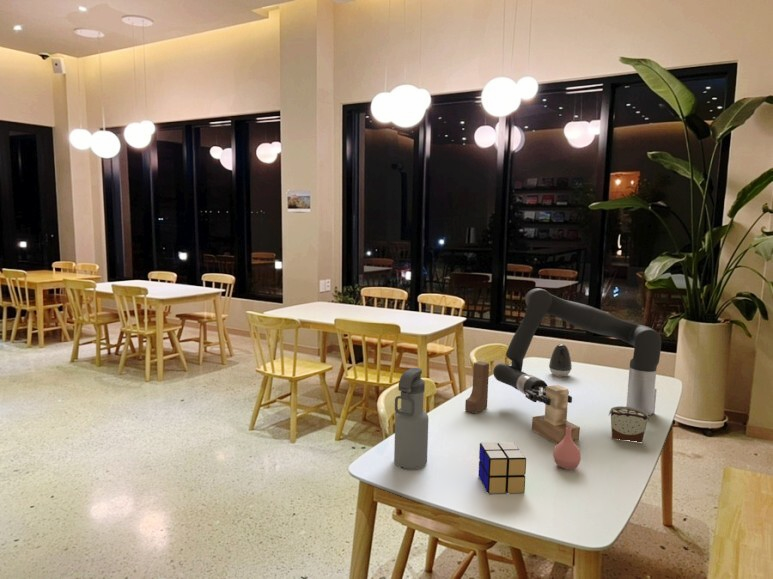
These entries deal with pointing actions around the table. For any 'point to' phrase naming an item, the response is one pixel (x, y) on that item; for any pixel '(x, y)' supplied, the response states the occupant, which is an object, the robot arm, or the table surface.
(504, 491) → the puzzle cube
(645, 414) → the food container
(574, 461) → the pink vase
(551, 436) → the base block
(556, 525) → the table surface
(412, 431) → the water bottle
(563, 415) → the oak post
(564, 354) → the grey egg shape
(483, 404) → the wooden block
